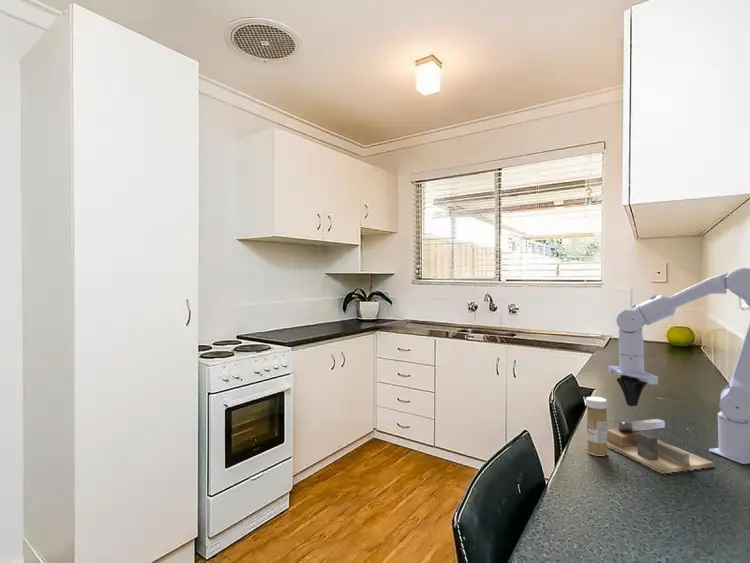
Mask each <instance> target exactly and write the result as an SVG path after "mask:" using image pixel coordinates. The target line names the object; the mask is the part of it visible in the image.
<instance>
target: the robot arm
mask: <svg viewBox="0 0 750 563" xmlns="http://www.w3.org/2000/svg"><path fill="white" fill-rule="evenodd" d="M726 276H727V277H726ZM727 290H729V291H730V293H733V294H734V295H735V296H737V297H739V298H740V299H741V300H743V301H744V302H745V304H746V305H747V306H748V307H749V308H750V268H748V267H747V268H746V267H742V268H738V269H735V270H733V271H731V272H730V273H729V272H726V273H723V274H720V275H719V274H718V275H716V276H713V277H709V278H707V279H704V280H702V281H701V282H698V283H696V284H694V285H692V286H689V287H687V288H685V289H683V290H681V291H679V292H677V293H675V294H673V295H670V296H669V295H668V296H667V295H664V294H660V295H656V294H654V295H652V296H649V300H646V301H643V302H641V303H639V304H633V305H631V309H624V310H623V311H621V312H620V313H619V314H618V315H617V316H616V321H615V322H616V325H617V327H618V365H607V373H608V374H613V375H618V376H620V377H616V382H617V383H618V385H619V386H620V388H621V391H622V392H623V396H624V399H625V403H626V405H627V406H629V407H637V406H638V405H639V404H638V403H639V400H640V396H641V394H642V392H643V390H644V389H645V387H646V385H647V384H649V385H651V386H652V385H659V376H658V375H654V374H651V373H649V372H646V371H645V358H644V355H645V354H644V352H645V351H644V350H645V349H644V347H645V346H644V337H643V328H644V326H646V325H647V326H650V325H652V324H655V323H657V322H660V321H661V320H664V319H667V318H669V317H671V316H674V315H675V313H676V309H677V308H678V307H681V306H684V305H685V304H688V303H691V302H694V301H696V300H698V299H701V298H704V297H706V296H709V295H711V294H712V295H713V294H714V295H715V294H721V295H722V294H723V295H725V294H726V295H727ZM738 354H739V355H738V357H737V361H736V363H735V367H734V370H733V373H732V374H731V378H730V380H729V383H728V385H726V387H724V388H723V389H722V390H721V392H720V394H719V400H720V401H719V409H720V411H719V412H717V430H718V431H717V436H718V438H717V439H718V444H717V445H718V447H715V448H709V449H708V451H709V452H711V453H714V454H716V455H718V456H721V457H723V458H726V459H729V460H731V461H734V462H736V463H739V464H742V465H748V464H750V321H749V322H748V326H747V328H746V331H745V334H744V338H743V341H742V344H741V347H740V351H739V353H738Z"/></svg>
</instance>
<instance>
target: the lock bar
mask: <svg viewBox="0 0 750 563" xmlns="http://www.w3.org/2000/svg"><path fill="white" fill-rule="evenodd" d="M618 428H619V431H622V432H627V433H630V432H632V431H640V432H641V431H647V430H655V429H656V430H657V429H663V428H666V422H665V420H663V419H659V418H654V419H653V418H652V419H644V420H636V421H628V420H618Z"/></svg>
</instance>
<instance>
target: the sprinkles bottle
mask: <svg viewBox="0 0 750 563" xmlns="http://www.w3.org/2000/svg"><path fill="white" fill-rule="evenodd" d="M585 406H586V414H587V416H586V417H587V419H586V438H587V449H586V450H587V451H588V452H590V453H593V454H596V455H606V454H607V453H608V448H607V430H608V418H607V416H608V415H607V408H608V400H607V399H606V398H604V397H600V396H587V397H586V398H585ZM587 451H586V452H587ZM588 452H587V453H588ZM608 454H609V453H608Z"/></svg>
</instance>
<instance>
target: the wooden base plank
mask: <svg viewBox="0 0 750 563" xmlns="http://www.w3.org/2000/svg"><path fill="white" fill-rule="evenodd" d="M607 446H609V447H611V448H613V449H614V450H617V451H619V452H621V453H622V454H624V455H626V456H628V457H630V458H632V459H634V460H636V461H638V462H640V463H642V464H644V465H646V466H648V467H650V468H652V469H653V470H655V471H657V472H660V473H662V474H663V473H670V474H672V473H671V472H677V473H679V472H678V471H684V472H687V471H686V470H690V471H695V470H694V469H697V470H702V468H704V469H710V467H711V468H714V467H715V465H714V461H711V460H708V459H706V458H704V457H701V456H699V455H697V454H694V453H691V452H689V451H686V450H684V449H682V448H679V447H676V446H674V445H672V444H669V443H667V442H664V441H662V440H661V439H658V437H657V436H654V435H651V434H649V433H646V432H642V431H641V430H640V431H632V432H630V433H627V432H622V431H619V427H618V428H611V429H608V428H607ZM653 470H652V471H653ZM655 471H654V472H655ZM657 472H656V473H657Z"/></svg>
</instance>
